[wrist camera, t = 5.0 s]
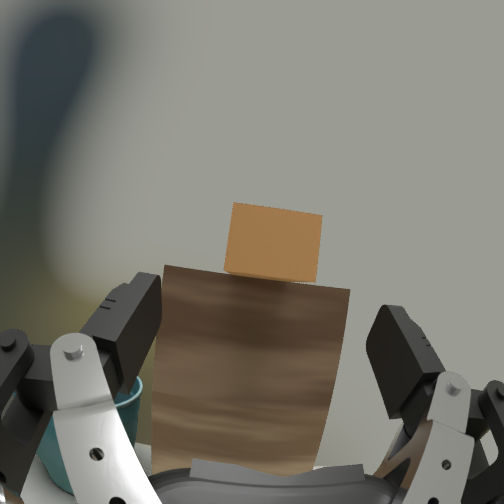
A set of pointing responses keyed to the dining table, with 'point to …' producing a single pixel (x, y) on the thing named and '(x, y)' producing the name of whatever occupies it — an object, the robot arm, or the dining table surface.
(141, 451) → the dining table surface
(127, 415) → the flower pot
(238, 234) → the light orange bar
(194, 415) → the block tower
